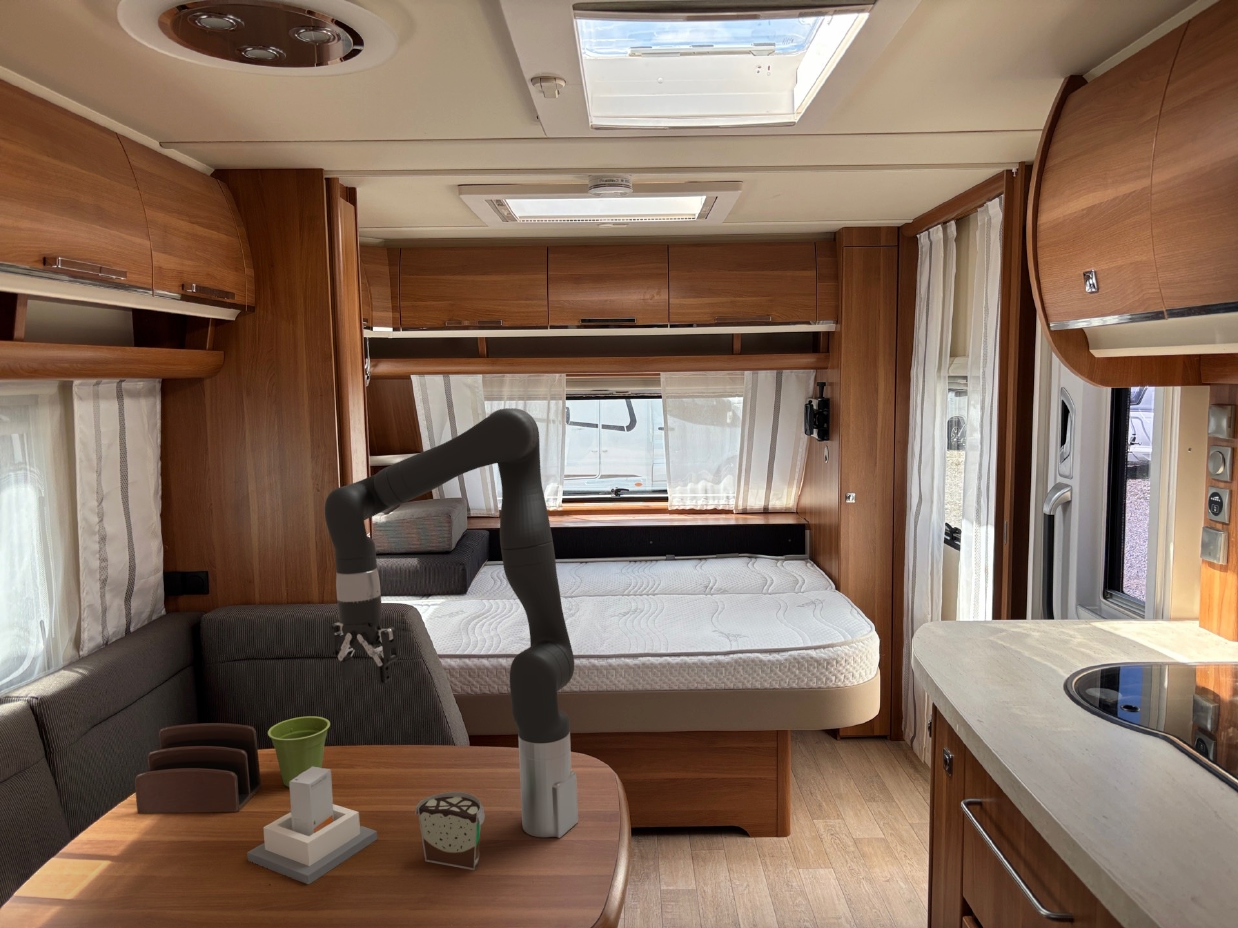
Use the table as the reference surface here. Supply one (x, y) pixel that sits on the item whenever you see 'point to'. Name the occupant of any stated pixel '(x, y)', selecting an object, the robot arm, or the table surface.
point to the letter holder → (200, 770)
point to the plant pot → (299, 745)
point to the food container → (451, 828)
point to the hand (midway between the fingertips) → (366, 681)
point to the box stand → (311, 846)
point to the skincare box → (311, 801)
